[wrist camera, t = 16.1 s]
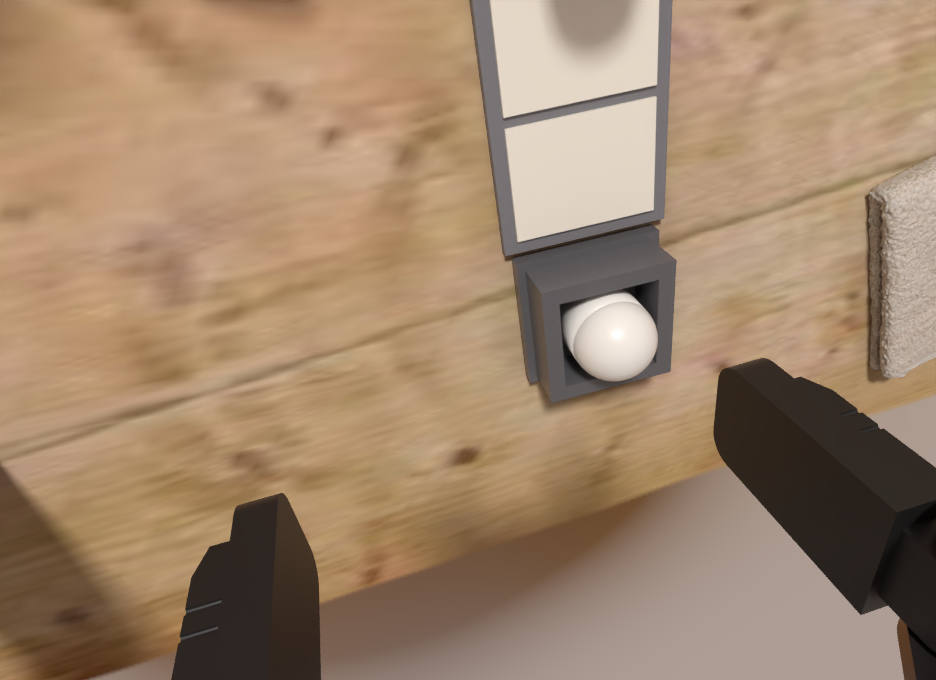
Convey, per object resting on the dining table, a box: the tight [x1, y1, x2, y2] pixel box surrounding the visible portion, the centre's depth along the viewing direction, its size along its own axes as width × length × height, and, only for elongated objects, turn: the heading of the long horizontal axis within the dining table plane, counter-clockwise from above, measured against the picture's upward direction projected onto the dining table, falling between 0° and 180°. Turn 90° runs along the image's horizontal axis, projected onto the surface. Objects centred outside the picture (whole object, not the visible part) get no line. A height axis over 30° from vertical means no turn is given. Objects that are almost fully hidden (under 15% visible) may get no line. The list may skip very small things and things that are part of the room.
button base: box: [512, 224, 676, 403], centre depth 36 cm, size 9×9×4 cm
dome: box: [560, 288, 658, 381], centre depth 35 cm, size 5×5×6 cm
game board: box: [470, 0, 672, 256], centre depth 29 cm, size 10×22×1 cm, turn 9°
